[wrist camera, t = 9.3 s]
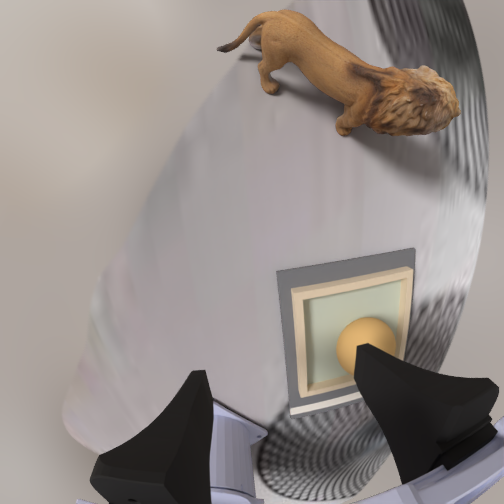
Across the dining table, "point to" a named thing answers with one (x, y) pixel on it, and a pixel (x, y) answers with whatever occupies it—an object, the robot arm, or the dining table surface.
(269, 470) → the dining table surface
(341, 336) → the ball
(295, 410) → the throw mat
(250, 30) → the lion figurine
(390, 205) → the dining table surface
